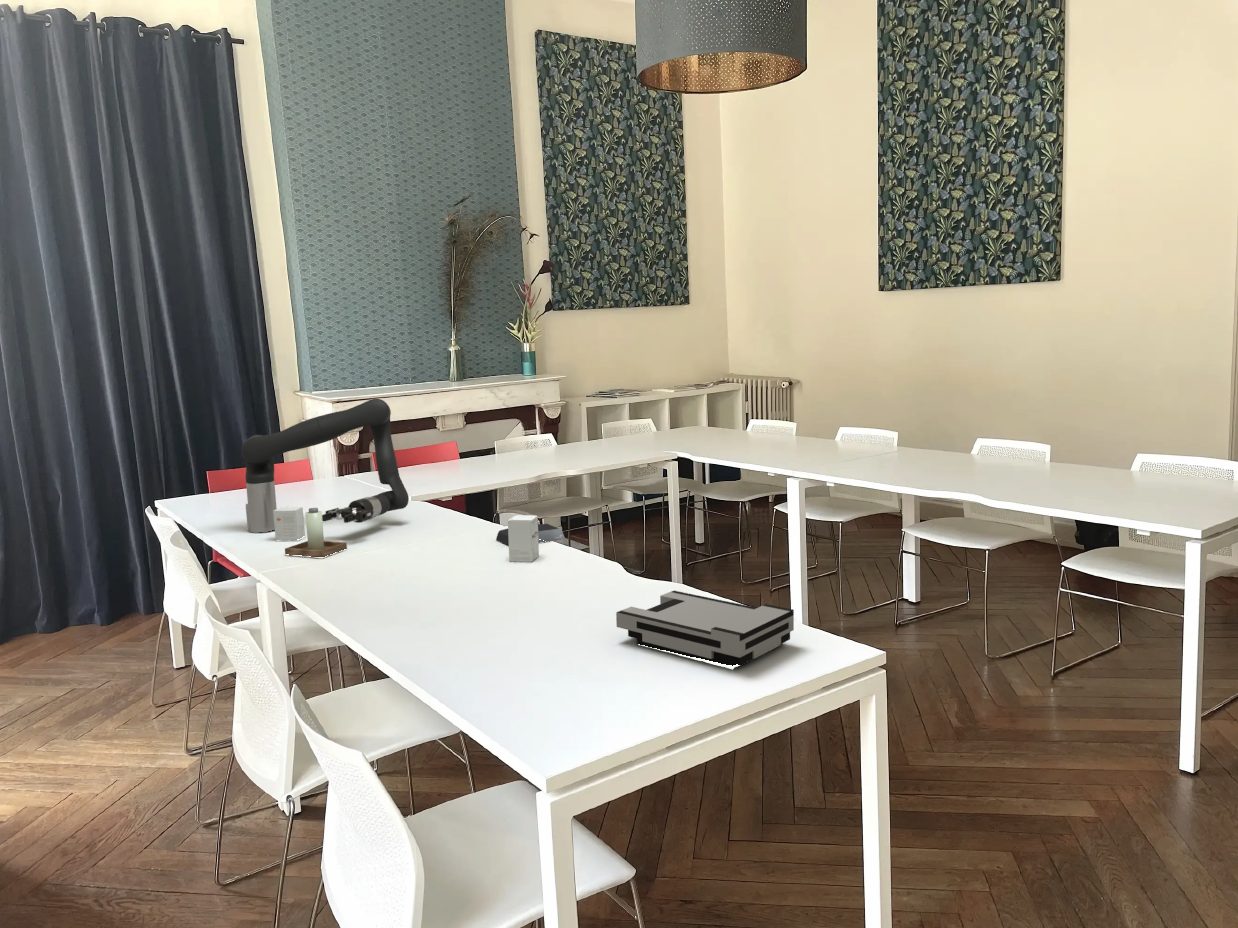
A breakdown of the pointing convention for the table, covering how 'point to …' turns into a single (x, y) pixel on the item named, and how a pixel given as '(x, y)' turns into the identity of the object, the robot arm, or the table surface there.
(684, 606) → the game console
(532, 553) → the supplement box
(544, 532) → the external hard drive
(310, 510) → the bottle
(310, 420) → the robot arm
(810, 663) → the table surface
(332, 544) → the tray
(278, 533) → the small box
